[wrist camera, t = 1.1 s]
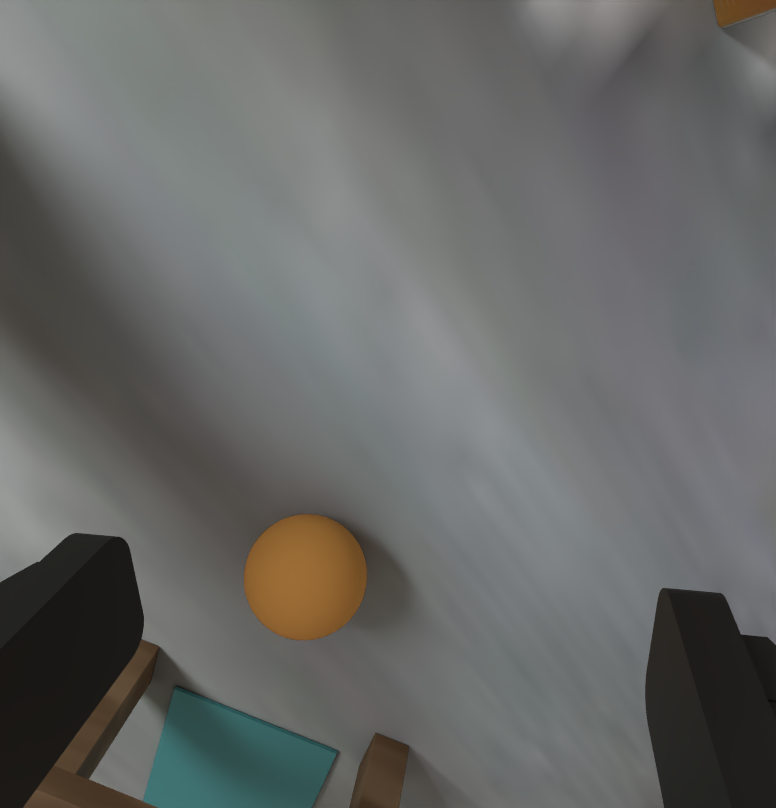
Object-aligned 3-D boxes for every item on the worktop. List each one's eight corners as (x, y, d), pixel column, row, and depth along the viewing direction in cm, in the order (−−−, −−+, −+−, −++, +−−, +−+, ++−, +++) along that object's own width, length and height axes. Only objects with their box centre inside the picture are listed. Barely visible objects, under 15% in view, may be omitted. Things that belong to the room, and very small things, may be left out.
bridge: (391, 778, 39) (357, 961, 30) (118, 669, 39) (11, 821, 31) (409, 746, 37) (378, 927, 29) (126, 633, 38) (16, 781, 29)
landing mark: (136, 826, 45) (135, 828, 45) (175, 686, 39) (174, 689, 39) (276, 882, 45) (275, 885, 44) (337, 750, 39) (336, 753, 38)
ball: (256, 561, 34) (212, 638, 29) (283, 475, 32) (241, 543, 27) (357, 601, 34) (330, 685, 29) (392, 517, 32) (369, 593, 27)
